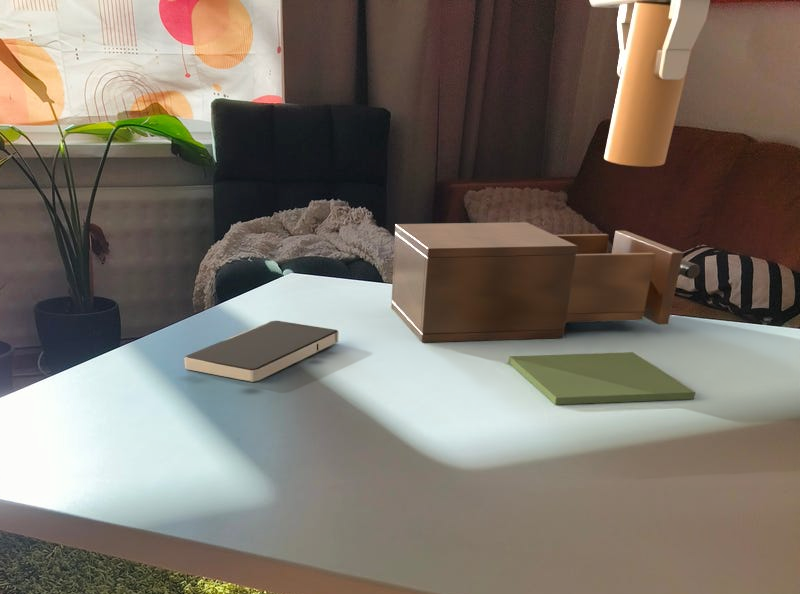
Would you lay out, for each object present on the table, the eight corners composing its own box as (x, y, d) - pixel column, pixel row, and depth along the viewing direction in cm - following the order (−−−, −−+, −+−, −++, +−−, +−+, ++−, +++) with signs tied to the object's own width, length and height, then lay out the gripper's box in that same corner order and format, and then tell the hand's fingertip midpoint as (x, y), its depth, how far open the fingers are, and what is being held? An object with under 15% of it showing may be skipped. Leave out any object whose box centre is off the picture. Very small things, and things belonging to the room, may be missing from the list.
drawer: (649, 294, 102) (662, 229, 99) (707, 323, 91) (724, 251, 88) (500, 298, 100) (507, 232, 96) (541, 328, 89) (551, 255, 85)
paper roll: (649, 155, 72) (684, 1, 65) (674, 167, 68) (714, 6, 62) (594, 155, 71) (624, 0, 65) (617, 166, 67) (651, 4, 61)
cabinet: (516, 304, 101) (526, 222, 97) (563, 338, 89) (577, 245, 85) (391, 308, 100) (395, 224, 95) (421, 342, 88) (428, 248, 83)
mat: (631, 358, 83) (632, 351, 83) (694, 399, 73) (695, 392, 73) (508, 362, 82) (509, 356, 82) (555, 404, 72) (556, 397, 72)
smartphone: (180, 356, 79) (272, 319, 90) (181, 370, 80) (272, 331, 91) (255, 370, 76) (342, 330, 86) (256, 384, 76) (341, 342, 87)
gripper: (835, -207, 50) (765, 82, 58) (667, -141, 67) (630, 76, 75) (730, -212, 49) (674, 81, 57) (587, -144, 66) (558, 75, 74)
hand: (648, 78), depth 66 cm, fingers closed on paper roll, 5 cm apart
